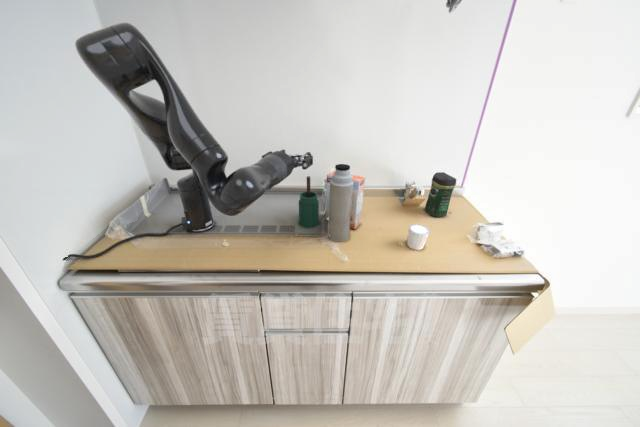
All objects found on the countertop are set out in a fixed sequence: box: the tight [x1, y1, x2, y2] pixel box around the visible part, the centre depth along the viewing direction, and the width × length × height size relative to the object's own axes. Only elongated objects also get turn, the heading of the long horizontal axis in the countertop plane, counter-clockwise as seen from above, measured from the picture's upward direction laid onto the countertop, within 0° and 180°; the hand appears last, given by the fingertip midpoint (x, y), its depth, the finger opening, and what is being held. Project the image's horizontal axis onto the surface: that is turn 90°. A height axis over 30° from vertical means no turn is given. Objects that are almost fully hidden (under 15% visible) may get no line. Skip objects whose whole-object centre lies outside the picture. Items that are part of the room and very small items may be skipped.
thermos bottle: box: [327, 163, 354, 243], centre depth 86 cm, size 8×8×28 cm
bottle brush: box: [306, 175, 311, 198], centre depth 96 cm, size 4×4×20 cm
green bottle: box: [298, 190, 320, 229], centre depth 98 cm, size 8×8×13 cm
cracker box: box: [325, 170, 366, 230], centre depth 97 cm, size 14×6×21 cm, turn 58°
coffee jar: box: [424, 171, 457, 218], centre depth 106 cm, size 10×8×19 cm
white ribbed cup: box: [406, 224, 430, 251], centre depth 87 cm, size 7×7×7 cm
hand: (296, 153), depth 77 cm, fingers open, 8 cm apart
